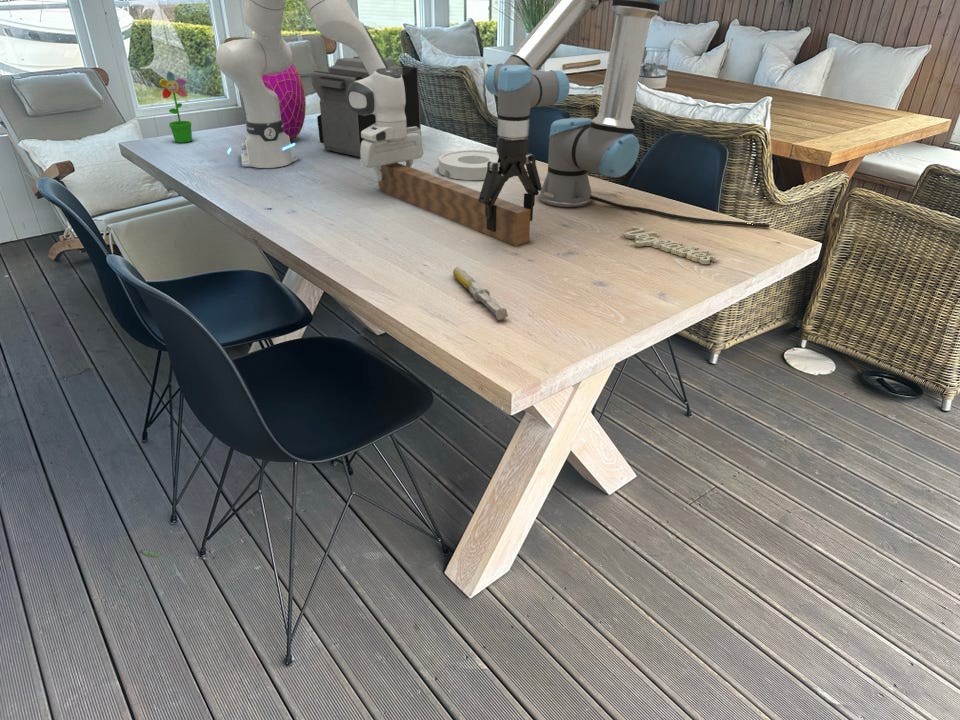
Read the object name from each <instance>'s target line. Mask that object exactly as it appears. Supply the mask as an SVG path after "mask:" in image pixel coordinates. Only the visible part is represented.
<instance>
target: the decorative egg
mask: <svg viewBox="0 0 960 720" xmlns="http://www.w3.org/2000/svg"><path fill="white" fill-rule="evenodd" d="M262 80H263V83H264V85H265V86H266V88H269V89H271V90H272V91H274V92H275V93H276V94H277V96H278V98H279V106H280V114H281V119H282V120H283V124H284V133H285V134H286V135H288V136H289V138H290V141H291V140H293V139H296V138H297V137H298V136H299V134H301V131H302V129H303V127H304V123H305V118H306V104H307V103H306V102H307V101H306V99H307V97H306V93H305V88H304V84H303V81H302V77H301V75H300V73H299V71H298V69H297V67H296V66H295V65H294V63H293V62H292V63H291V66H290V67H289V68H288V69H286V70H284V71H282V72H279V73H276V74H269V75H262Z"/></svg>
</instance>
